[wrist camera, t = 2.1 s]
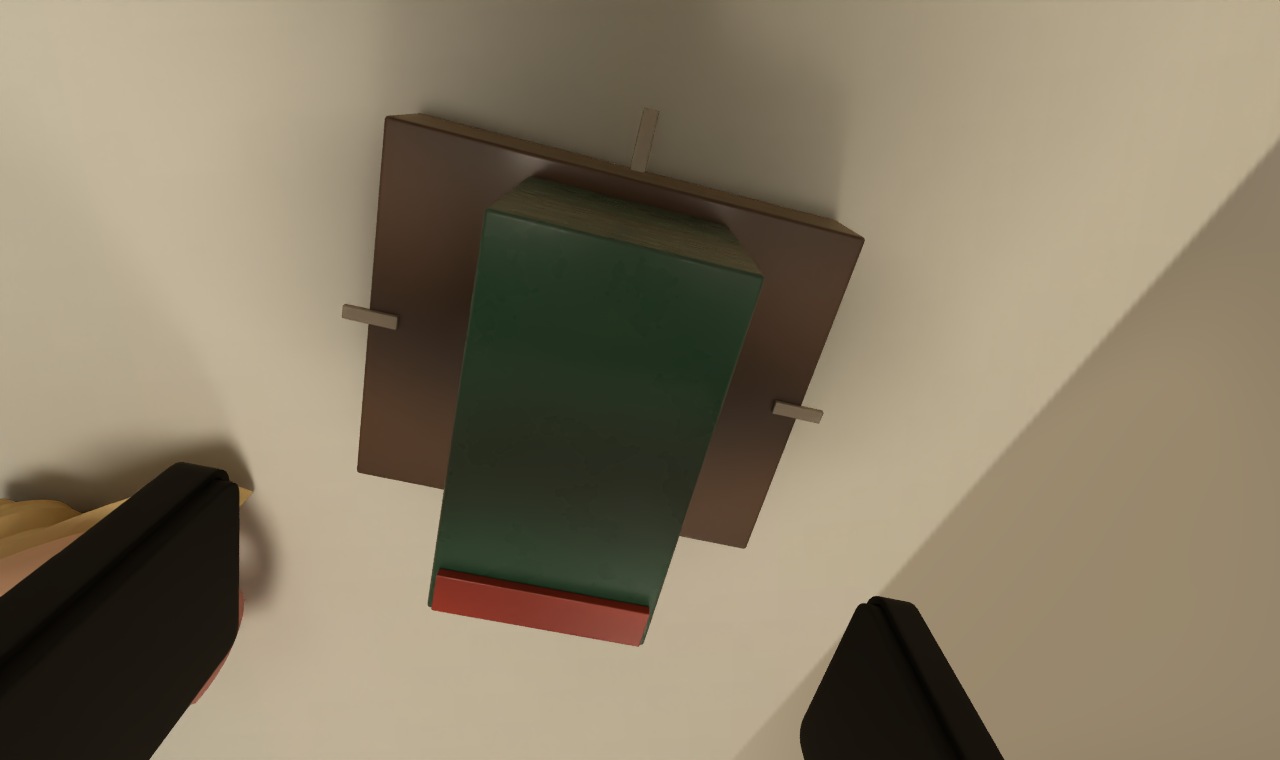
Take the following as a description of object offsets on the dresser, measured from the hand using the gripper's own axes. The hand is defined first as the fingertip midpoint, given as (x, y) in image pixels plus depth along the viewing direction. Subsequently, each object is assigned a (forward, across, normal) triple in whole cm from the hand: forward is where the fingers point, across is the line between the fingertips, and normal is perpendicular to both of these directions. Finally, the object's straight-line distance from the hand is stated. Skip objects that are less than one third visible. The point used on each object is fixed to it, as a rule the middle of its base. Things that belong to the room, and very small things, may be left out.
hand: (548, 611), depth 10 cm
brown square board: (+11, 0, -1) cm, 11 cm away
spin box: (+9, 0, -1) cm, 9 cm away
